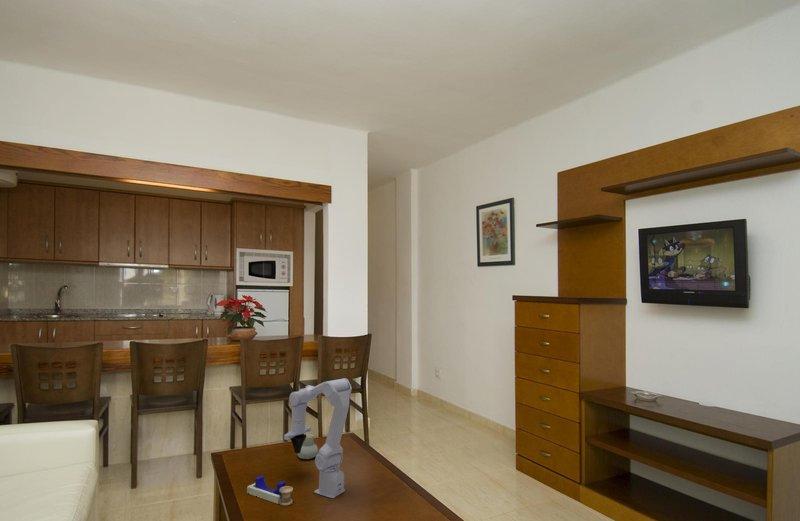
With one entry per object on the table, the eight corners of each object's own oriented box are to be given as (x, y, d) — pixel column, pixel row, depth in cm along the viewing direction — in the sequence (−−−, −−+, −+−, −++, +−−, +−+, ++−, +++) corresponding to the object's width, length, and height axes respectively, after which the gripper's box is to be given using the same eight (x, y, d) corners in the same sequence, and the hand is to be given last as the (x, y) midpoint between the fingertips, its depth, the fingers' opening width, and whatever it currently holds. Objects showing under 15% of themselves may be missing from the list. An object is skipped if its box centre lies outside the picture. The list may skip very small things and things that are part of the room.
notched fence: (291, 496, 175) (291, 489, 175) (277, 504, 169) (278, 497, 169) (260, 486, 183) (261, 480, 184) (247, 493, 177) (247, 486, 177)
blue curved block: (287, 496, 176) (287, 480, 176) (279, 501, 172) (280, 484, 172) (262, 489, 181) (263, 474, 181) (254, 494, 177) (255, 478, 177)
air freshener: (295, 454, 218) (295, 433, 219) (312, 451, 222) (312, 430, 223) (301, 462, 209) (302, 440, 209) (319, 459, 213) (319, 437, 213)
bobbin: (295, 501, 171) (295, 487, 172) (286, 506, 167) (286, 492, 167) (285, 498, 174) (286, 484, 174) (276, 503, 170) (276, 489, 170)
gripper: (302, 414, 203) (301, 445, 202) (279, 422, 190) (278, 456, 190) (315, 416, 200) (314, 448, 199) (291, 425, 187) (290, 459, 186)
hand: (297, 452), depth 194 cm, fingers closed
